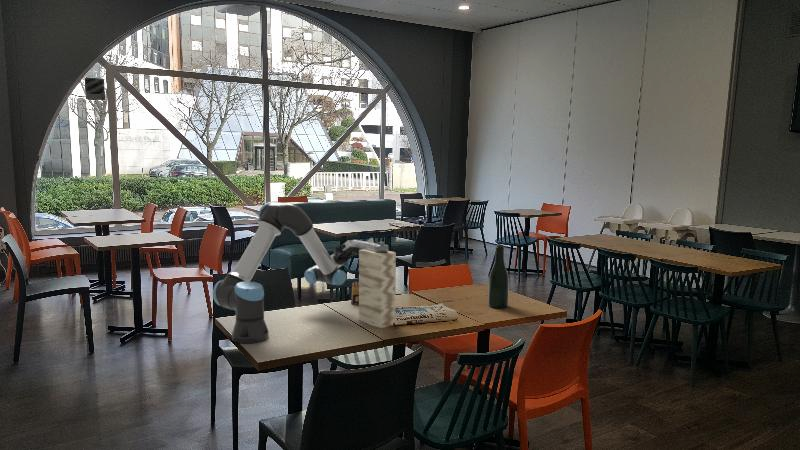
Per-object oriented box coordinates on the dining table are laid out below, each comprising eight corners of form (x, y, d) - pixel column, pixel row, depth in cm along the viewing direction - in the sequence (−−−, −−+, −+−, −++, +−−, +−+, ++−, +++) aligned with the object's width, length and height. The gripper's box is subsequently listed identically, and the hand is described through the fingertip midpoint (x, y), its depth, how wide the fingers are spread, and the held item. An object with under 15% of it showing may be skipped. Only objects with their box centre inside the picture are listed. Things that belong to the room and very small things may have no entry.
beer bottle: (509, 309, 287) (511, 246, 283) (489, 308, 287) (491, 245, 283) (506, 303, 297) (508, 243, 294) (486, 303, 298) (488, 242, 294)
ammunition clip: (352, 304, 293) (352, 282, 292) (350, 303, 295) (350, 281, 294) (370, 302, 299) (370, 280, 297) (368, 301, 300) (368, 279, 299)
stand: (380, 328, 252) (380, 254, 248) (358, 320, 264) (359, 249, 260) (395, 324, 258) (395, 252, 254) (373, 317, 270) (374, 248, 266)
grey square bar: (380, 253, 250) (380, 243, 250) (347, 246, 269) (347, 237, 269) (391, 252, 254) (391, 242, 254) (358, 245, 273) (358, 236, 273)
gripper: (316, 253, 274) (337, 236, 259) (357, 249, 290) (379, 232, 275) (320, 267, 272) (342, 251, 257) (361, 262, 288) (383, 246, 273)
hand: (361, 241), depth 266 cm, fingers open, 13 cm apart
